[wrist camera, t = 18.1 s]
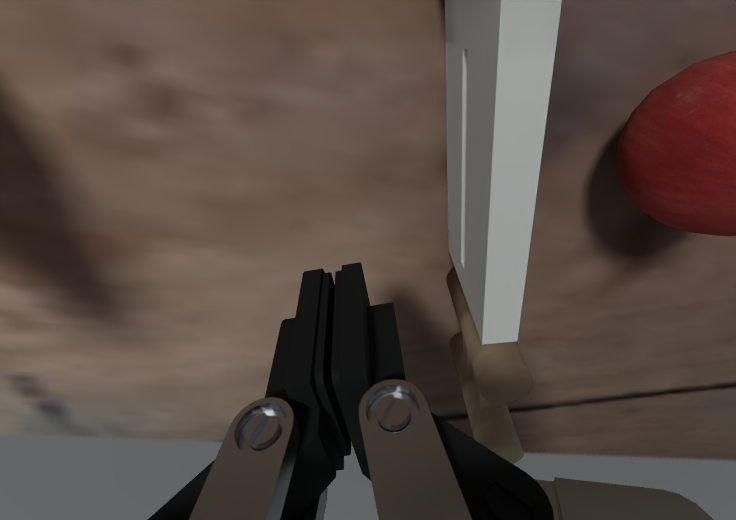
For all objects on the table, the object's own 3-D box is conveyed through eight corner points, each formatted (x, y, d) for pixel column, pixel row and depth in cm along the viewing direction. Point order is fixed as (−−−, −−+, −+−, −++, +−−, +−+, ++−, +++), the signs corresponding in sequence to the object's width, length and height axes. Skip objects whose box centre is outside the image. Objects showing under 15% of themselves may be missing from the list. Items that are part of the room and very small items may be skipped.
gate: (444, 0, 12) (501, -9, 7) (481, -6, 12) (564, -20, 7) (448, 249, 18) (481, 344, 13) (473, 246, 18) (517, 340, 13)
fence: (450, 354, 23) (478, 468, 17) (415, -269, 10) (488, -682, 4) (482, 351, 23) (522, 464, 17) (491, -289, 10) (687, -755, 4)
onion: (714, 1, 13) (1073, -12, 6) (742, 131, 16) (1021, 217, 9) (557, 109, 15) (709, 183, 8) (604, 208, 18) (750, 326, 11)
